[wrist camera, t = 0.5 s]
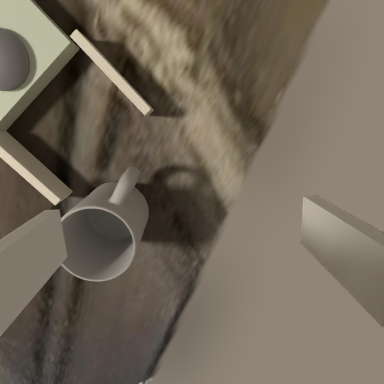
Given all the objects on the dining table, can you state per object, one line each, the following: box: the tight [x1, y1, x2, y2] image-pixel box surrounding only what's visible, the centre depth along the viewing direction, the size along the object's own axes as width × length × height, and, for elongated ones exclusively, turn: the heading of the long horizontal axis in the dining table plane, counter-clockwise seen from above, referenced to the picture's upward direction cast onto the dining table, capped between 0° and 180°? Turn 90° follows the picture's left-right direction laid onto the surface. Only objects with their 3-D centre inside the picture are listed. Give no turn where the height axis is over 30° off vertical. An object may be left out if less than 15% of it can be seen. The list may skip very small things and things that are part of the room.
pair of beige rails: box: [0, 0, 154, 205], centre depth 33 cm, size 19×16×4 cm
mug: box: [61, 167, 149, 281], centre depth 33 cm, size 12×8×11 cm
